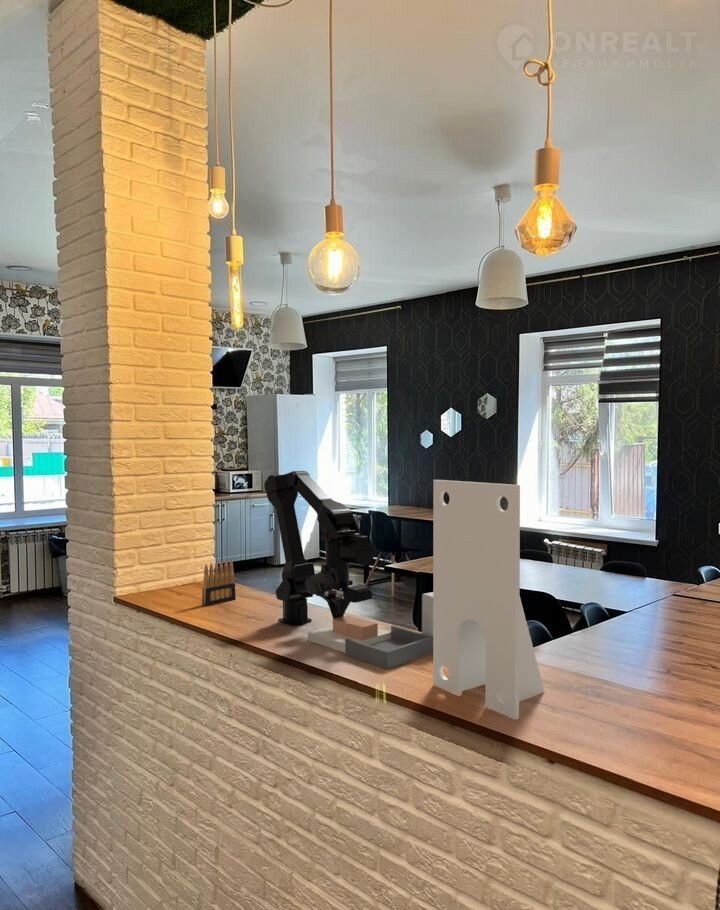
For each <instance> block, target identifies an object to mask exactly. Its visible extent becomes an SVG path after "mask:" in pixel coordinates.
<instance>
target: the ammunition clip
mask: <svg viewBox="0 0 720 910" xmlns="http://www.w3.org/2000/svg"><path fill="white" fill-rule="evenodd" d="M233 563H234V562H233V560H232V559H230V561H229V563H228V561H227V560H225V562H224V565H223V561H220V562H219V564H218V562H215V564H214V566H213V563H212V562H211V563H210V564H209V565H210V566H209V567H208V564H207V563H206V564H205V565H204V568H203V569H204V571H203V587H202V594H201V595H202V597H201V598H202V599H201V601H202V602H201V603H202V604H201V605H202V606H204V607H207V606H213V605H218V604H222V603H226V602H232V601H236V597H237V596H236V583H235V573H234V564H233ZM218 565H219V566H218Z"/></svg>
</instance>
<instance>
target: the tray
mask: <svg viewBox="0 0 720 910" xmlns="http://www.w3.org/2000/svg"><path fill="white" fill-rule="evenodd" d="M390 632H391V639H388V640H385V641H381V642H378V643H375V644H372V645H367V644H364V643H361V642H358V641H355V640H352V639H345V653H344V654H345V656H348V657H351V658H353V659H356V660H360V661H363V662H365V663H368V664H371V665H373V666H377V667H379V668H383V669H386V670H389V669H391V668H395V667H397V666H400V665H403V664H406V663H408V662H412V661H414V659H415V660H417V659H420V658H423V657H426V656H428V655H431V654H432V655H433V636H430V635H427V634H423V633H422V632H419V631H416V630H411V629H407V628H405V627H401V626H397V625H390ZM425 655H426V656H425ZM422 656H423V657H422ZM411 660H412V661H411Z"/></svg>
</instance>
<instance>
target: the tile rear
mask: <svg viewBox="0 0 720 910" xmlns="http://www.w3.org/2000/svg"><path fill="white" fill-rule="evenodd" d="M362 619H363V618H359V617H356V616H353V615H352V616H351V615H344V616H343V617H339V618H335V619H333V618H332V626H333V632H336V633H339V634H342V635H345V636H347V623H350V622H354V621H358V620H362Z"/></svg>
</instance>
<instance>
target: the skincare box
mask: <svg viewBox="0 0 720 910" xmlns="http://www.w3.org/2000/svg"><path fill="white" fill-rule="evenodd" d="M421 633H423V634H427V635H430V636H433V591H432V592H426V593H422V594H421Z"/></svg>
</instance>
